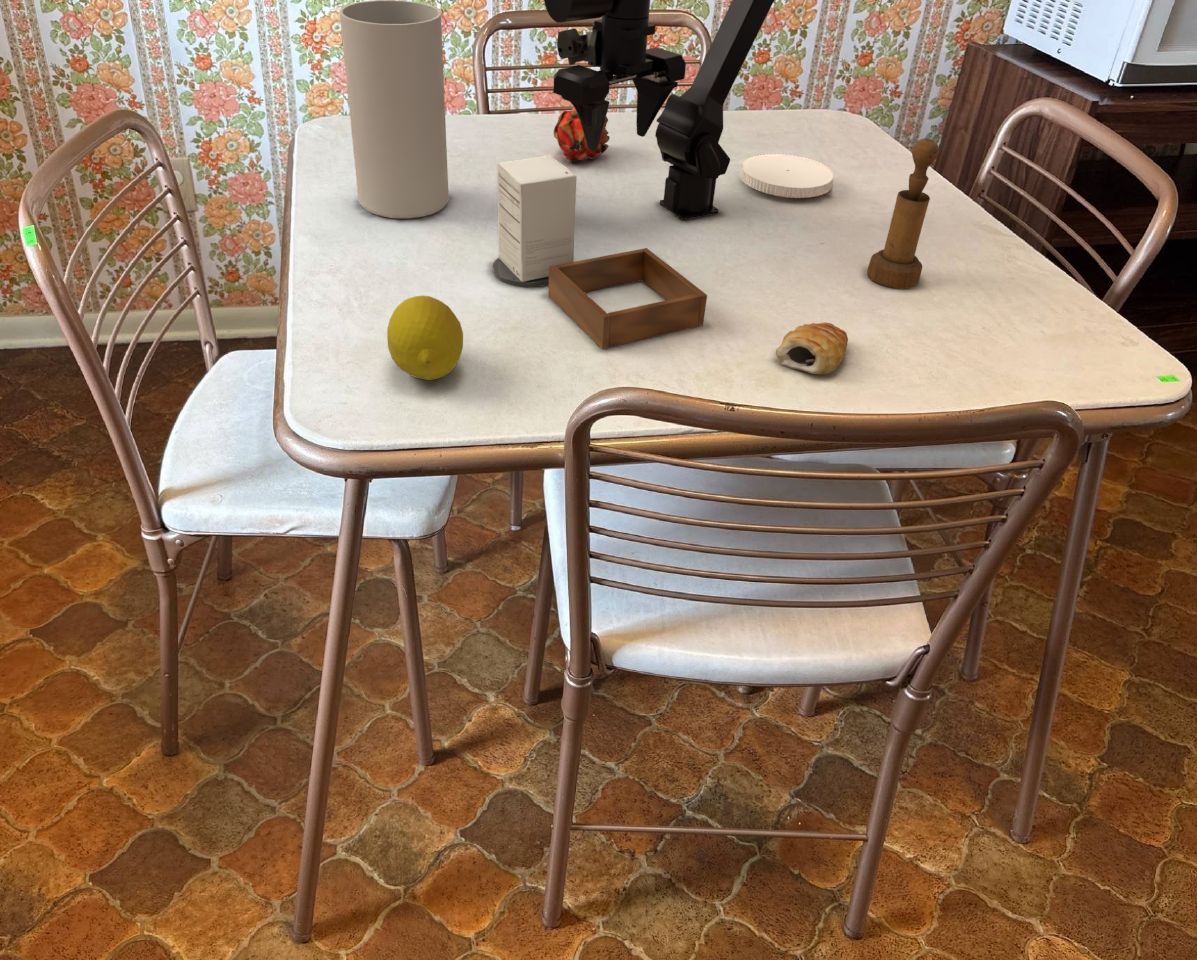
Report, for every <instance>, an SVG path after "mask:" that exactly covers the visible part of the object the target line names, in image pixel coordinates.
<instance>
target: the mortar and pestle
mask: <svg viewBox="0 0 1197 960" xmlns="http://www.w3.org/2000/svg"><path fill="white" fill-rule="evenodd" d="M939 150H940V149H939V145H938V142H936V141H935V140H934V139H932V138H928V137H925V138H924V137H923V138H920V139H919V140H918V141H916V142H915V144H914V145H913V147H912V150H911V154H912V160H913V163H914V171H913V172H912V173H910V174H909V176H908V189H902V190H900V191H898V192H897V194H896V195H897V196H896V199H895V204H894V207H893V208H894V209H893V212H892V217H891V221H890V225H889V228H888V232H887V236H886V240H885V244H884V248H883V249H881V250H879V251H877V252H875V253H873V254H872V255H871V256H870V260H869V263H868V267H867V271H866V272H867V276H868V278H869V279H870V280H871V281H873V282H875V283H877V284H879V285H881V286H884V287H889V288H893V289H910V288H913V287H916V286H917V285H918V284H919V283H920V279H921V274H922V270H923V263H922V262H921V261H920V260H919V258H918V257H917V256H916V253H917V252H916V251H917V247H918V244H919V241H920V236H921V232H922V229H923V225H924V221H925V217H926V214H927V211H928V208H929V204H930V200H931V197H930V195H929V194H928V193H925V192H923V191H924V189H925V188H926V185H928V181H929V177H928V175H927V172H928V169H929V167H930V166H931V165H932V164H933V163H934V162H935V160H936V159H937V157H938V155H939V152H940V151H939Z"/></svg>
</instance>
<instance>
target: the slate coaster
mask: <svg viewBox="0 0 1197 960" xmlns="http://www.w3.org/2000/svg"><path fill="white" fill-rule="evenodd" d="M492 273H493V275H494V276H495V278H497V279H498V280H499V281H501V282H503V283H505V284H508V285H511V286H516V287H522V288H538V287H539V288H540V287H544V286H549V277H544V278H539V279H534V280H529V281H525V282H522V281H521V280H520V279H519V278H518V277H517V276H516V275H515V274H514V273H513V272H512V271H511V270H510V269H509V268H508V267H507V266H506V265H505V264H504V263H503V262H502V261H501V260H500V258H499V257H497V258H496V259H495V260H494V261H493V263H492Z"/></svg>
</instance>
